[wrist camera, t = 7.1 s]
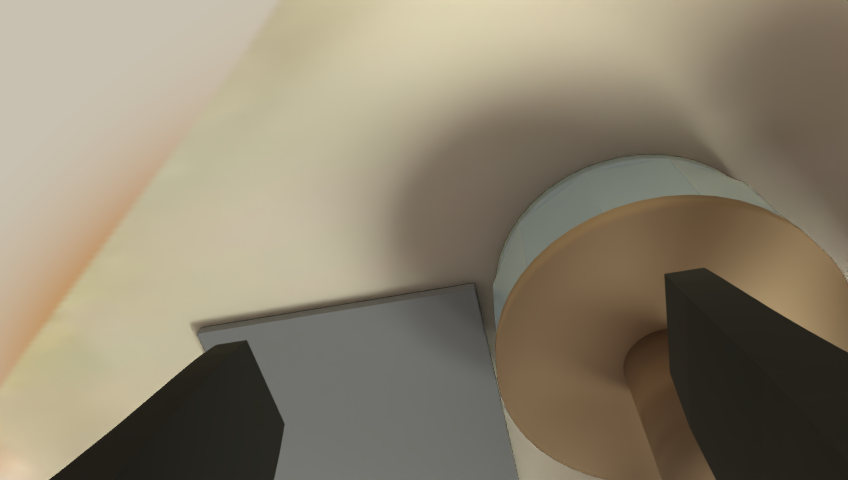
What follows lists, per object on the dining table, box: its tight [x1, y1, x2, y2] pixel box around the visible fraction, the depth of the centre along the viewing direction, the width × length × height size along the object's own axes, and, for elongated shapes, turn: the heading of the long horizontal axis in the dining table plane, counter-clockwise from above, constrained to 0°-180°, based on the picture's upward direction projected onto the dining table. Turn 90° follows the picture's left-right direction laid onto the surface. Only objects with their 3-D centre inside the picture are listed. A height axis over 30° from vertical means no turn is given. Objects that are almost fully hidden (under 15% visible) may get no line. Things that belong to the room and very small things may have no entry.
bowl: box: [493, 155, 782, 332], centre depth 20 cm, size 10×10×4 cm
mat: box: [197, 283, 519, 480], centre depth 25 cm, size 11×11×1 cm
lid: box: [495, 195, 848, 480], centre depth 16 cm, size 10×10×5 cm
